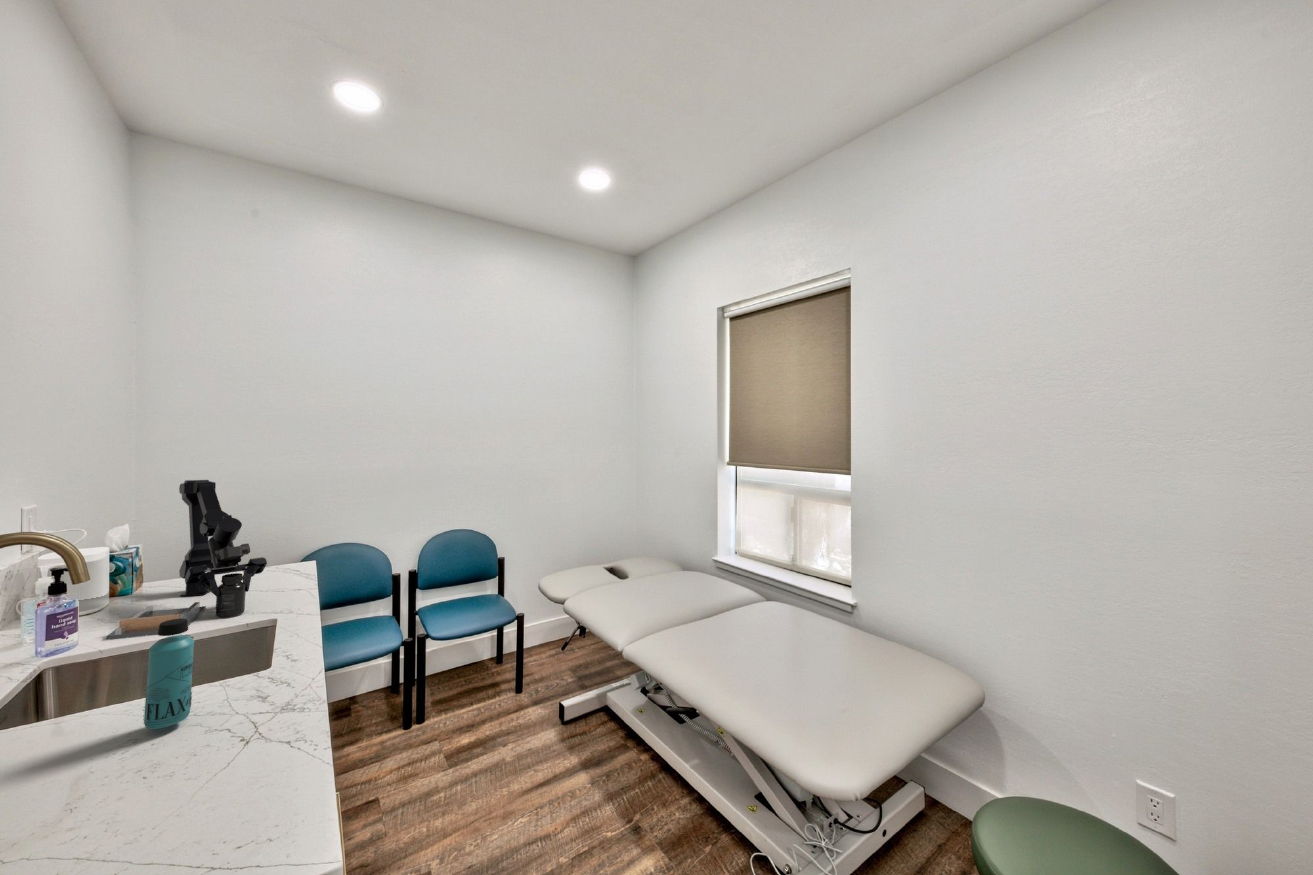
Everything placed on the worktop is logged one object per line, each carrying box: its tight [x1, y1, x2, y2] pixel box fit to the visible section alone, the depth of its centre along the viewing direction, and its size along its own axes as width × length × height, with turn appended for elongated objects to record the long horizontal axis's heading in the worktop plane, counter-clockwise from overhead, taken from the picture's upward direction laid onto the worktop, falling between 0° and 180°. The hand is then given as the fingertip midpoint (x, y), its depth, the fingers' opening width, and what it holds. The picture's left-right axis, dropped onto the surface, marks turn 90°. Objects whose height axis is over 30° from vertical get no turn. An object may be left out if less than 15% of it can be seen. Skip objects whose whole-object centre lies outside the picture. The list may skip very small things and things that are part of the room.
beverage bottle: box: [142, 619, 195, 730], centre depth 94 cm, size 6×7×20 cm
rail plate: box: [106, 601, 207, 640], centre depth 142 cm, size 20×15×4 cm
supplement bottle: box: [214, 572, 247, 619], centre depth 151 cm, size 7×7×12 cm
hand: (233, 593), depth 151 cm, fingers closed on supplement bottle, 7 cm apart
